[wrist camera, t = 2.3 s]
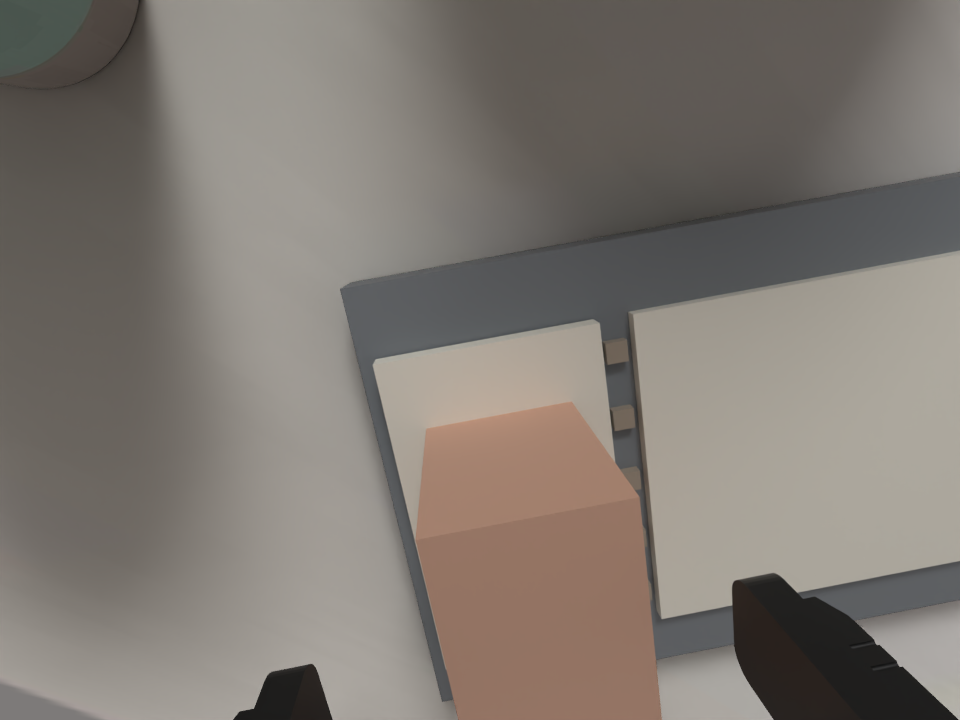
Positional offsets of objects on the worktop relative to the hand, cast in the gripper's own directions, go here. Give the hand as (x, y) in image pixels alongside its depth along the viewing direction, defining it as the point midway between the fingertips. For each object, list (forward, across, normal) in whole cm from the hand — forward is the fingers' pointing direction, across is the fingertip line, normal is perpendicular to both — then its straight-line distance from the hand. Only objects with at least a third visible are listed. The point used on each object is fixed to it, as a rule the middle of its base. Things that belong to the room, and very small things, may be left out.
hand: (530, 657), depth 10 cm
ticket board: (+7, -7, 0) cm, 10 cm away
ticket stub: (+6, 0, 0) cm, 6 cm away
